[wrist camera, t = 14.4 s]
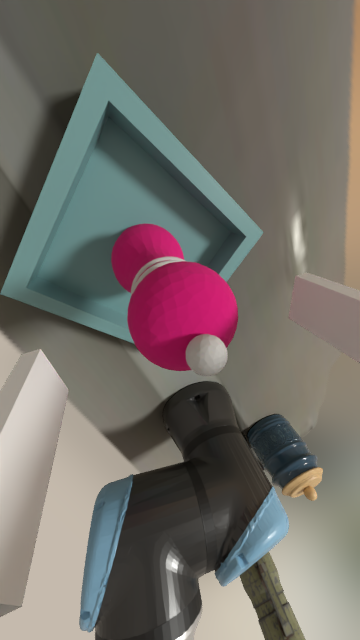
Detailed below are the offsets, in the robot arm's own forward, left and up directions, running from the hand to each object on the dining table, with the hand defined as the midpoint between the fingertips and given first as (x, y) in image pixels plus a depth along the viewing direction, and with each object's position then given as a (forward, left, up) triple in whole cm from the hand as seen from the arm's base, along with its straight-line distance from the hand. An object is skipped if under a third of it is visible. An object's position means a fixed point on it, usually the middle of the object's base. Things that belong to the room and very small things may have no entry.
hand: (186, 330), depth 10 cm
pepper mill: (0, 0, -17) cm, 17 cm away
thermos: (-47, -57, -18) cm, 76 cm away
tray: (0, 0, -18) cm, 18 cm away
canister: (-24, -57, -18) cm, 64 cm away
